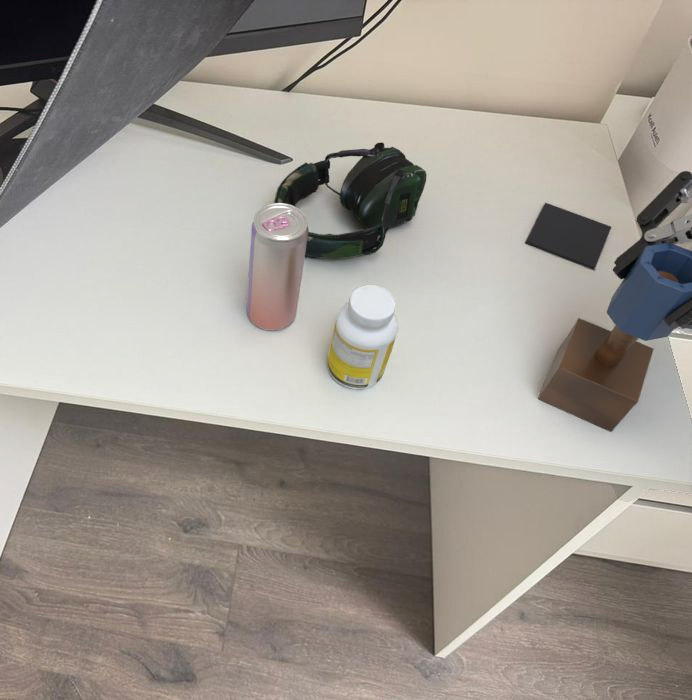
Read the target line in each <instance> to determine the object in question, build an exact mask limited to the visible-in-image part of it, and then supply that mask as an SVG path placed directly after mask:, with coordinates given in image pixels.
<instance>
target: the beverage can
mask: <svg viewBox="0 0 692 700" xmlns="http://www.w3.org/2000/svg"><path fill="white" fill-rule="evenodd" d="M250 230H251V232H250V247H249V248H250V249H249V265H248V280H247V296H246V313H247V317H248V319H249V320H250V321H251V323H253V324H254V325H255V326H256V327H257V328H260V329H262V330H266V331H273V332H274V331H279V330H282V329H285V328H286V327H288V326H289V325H291V324H292V323H293V322H294V320H295V318H296V316H297V313H298V304H299V299H300V292H301V286H302V285H301V284H302V279H303V272H304V265H305V259H306V255H305V252H306V245H307V239H308V232H310V230H309V221H308V217H307V215H306V213H305V212H303V211H302V210H301V209H300V208H298V207H297V206H296V207H295V206H293V205H290V204H285V203H274V202H273V203H270V204H269V203H268V204H266V205H264V206H262V207H261V208H259V210H258V211H256V213H255V215H254V218H253V221H252V224H251V229H250Z"/></svg>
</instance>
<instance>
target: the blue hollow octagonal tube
mask: <svg viewBox="0 0 692 700" xmlns="http://www.w3.org/2000/svg"><path fill="white" fill-rule="evenodd" d="M657 271H664V272H668V273H670V274H672V275H673V276H675V277H676V278H677V280H678V281H679V283H677V282H674V281H672V280H669V279H666V278H664V277H662V276H661V275H660V274H659V273H658V272H657ZM690 299H692V250H690V249H689V248H685V247H682V246H680V245H678V244H671V243H663V244H657V245H652V246H646V247H645V248H644V250H643V251H642V253H641V254H640V256H639V257H638V259H637V260H636V262H635V263H634V265H633V266H632V268H631V269H630V271H629V272H628V274H627V275H626V277H625V278H624V279H622V281H621V282H620V284H619V286H618V287H617V289H616V290H615V292H614V293H613V294H612V296H611V299H610V301H609V303H608V306H607V309H606V314H607V316H608V317H609V318H610V320H611V321H612V322H613V323H614V326H615V325H616V326H617V327H618V329H619V330H620V331H622V332H624V333H627V334H629V335H632V336H634V337H636V338H638V340H642V341H644V342H648V341H653V340H659V339H663V338H668V337H669V336H670V334H671V333H673V331H674V330H675V329H672V328H671V327H670V326H668V325H667V323H666V322H665V321H664V320H665V319H666V317H668V316H669V315H670V314H672V313H673V312H674V311H676V310H677V309H678V308H680V307H681V306H682V305H684V304H685V303H686V302H688V301H689V300H690Z"/></svg>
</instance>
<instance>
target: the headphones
mask: <svg viewBox="0 0 692 700" xmlns="http://www.w3.org/2000/svg"><path fill="white" fill-rule="evenodd" d="M346 157H361V158H360V159H359V160H358V161H357V162H356V163H355V164H354V166H353V167H352V168H351V169H350V170H349V172H348V173H347V175H346V176H345V178H344V180H343V182H342V184H341V188H340V191H337V190H336V189H334V188H333V187H331V186H330V185H329V183H330V169H331V161H330V160H331V159H336V158H346ZM426 171H427V170H425V169H423V168H422V167H421V166H419V165H417V164H414V163H413V162H412V161H410V160H409V159H407V157H406V155H405V154H404V152H402V150H400V149H398V148H396V147H394V146H390V147H385V143H384V142H376V143H375V144H374V147H372V148H369V149H367V148H357V149H345V150H339V151H337V152H332V153H328V154H327V155H325V157H324V160H320V161H317V162H314V163H313V162H309V163H308V162H307V161H305V162H304V163H302V164H301V165H299V166H298V167H296V168H295V169H294V170H293V171H291V172H289V173H288V175H286V177H284V178H283V179H282V181H281V182H280V184H279V185H278V187H277V189H276V192H275V196H274V202H273V204H274V203H285V204H290V205H293V206H295V207H297V206H296V205H297V203H299V202H300V201H302V200H303V199H306V198H307V197H309V196H311V195H312V194H314V193H317V191H318V190H319V187H320V186H323V185H325V186H326V187H327V189H329V190H330V191H332V193H334V194H336V195H338V196H339V201H340V202H339V203H340V204H341V206H342V208H344V209H345V210H347V211H348V212H351V213H352V214H354V215H355V216H356V217H357V219H358V221H359V222H360V224H361V225H362V226H363V227H364V228H365V229H364V228H360V229H358V230H356V231H351V232H344V233H339V234H333V233H326V234H325V233H324V234H322V233H316V232H311V231H309V232H308V239H307V245H306V252H305V256H307V257H311V258H313V259H331V260H332V259H334V260H341V259H348V258H353V257H361V256H363V255H364V256H368V255H372V254H375V253H377V252H378V251H379V250H380V249H381V248H382V247H383V245H384V242H385V239H386V235H387V232H388V230H389V228H393V227H397V226H400V225H404V224H405V222H410V221H412V220H413V217H415V216H416V212H417V209H418V205H419V202H420V200H421V197H422V195H423V192H424V190H425V186H426V183H427V172H426Z"/></svg>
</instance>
